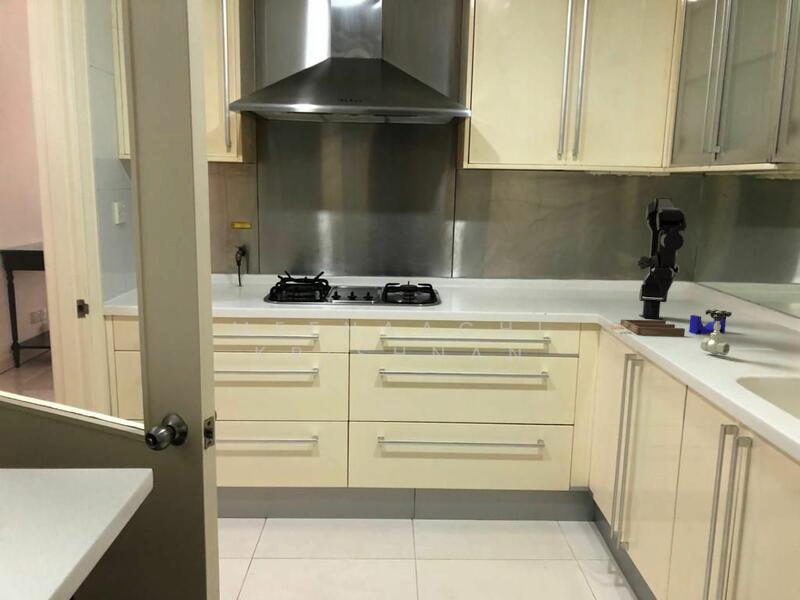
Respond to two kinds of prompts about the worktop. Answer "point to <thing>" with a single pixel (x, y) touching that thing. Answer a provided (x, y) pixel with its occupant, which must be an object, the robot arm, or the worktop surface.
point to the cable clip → (698, 327)
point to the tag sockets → (649, 328)
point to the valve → (716, 335)
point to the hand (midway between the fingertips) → (663, 296)
